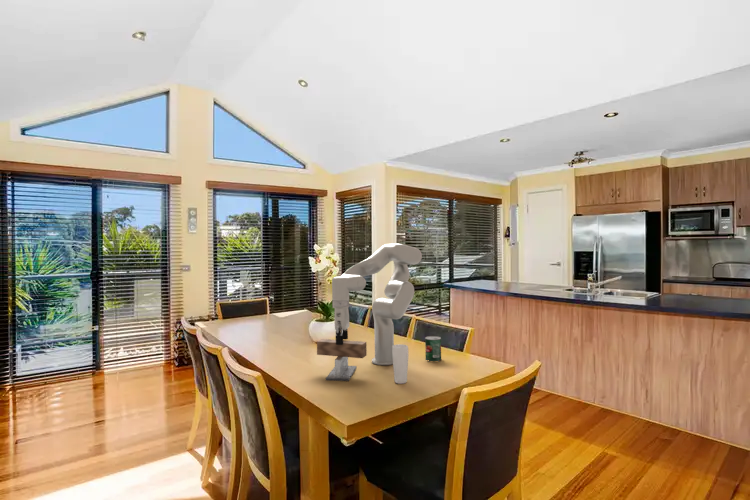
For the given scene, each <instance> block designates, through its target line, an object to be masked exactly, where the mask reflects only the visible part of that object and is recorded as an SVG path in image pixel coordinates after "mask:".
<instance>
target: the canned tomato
mask: <svg viewBox="0 0 750 500" xmlns="http://www.w3.org/2000/svg"><path fill="white" fill-rule="evenodd" d="M424 341H425V346H424V347H425V349H424V350H425V352H424V353H425V361H426V360H429V361H428V362H430V361H438V362H440V361H439V360H441V361H442V338H441V336H437V335H429V336H425V337H424Z"/></svg>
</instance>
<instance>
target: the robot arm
mask: <svg viewBox="0 0 750 500" xmlns="http://www.w3.org/2000/svg"><path fill="white" fill-rule="evenodd" d="M422 258H423V254H422V252H421V250H420V249H419V248H418V247H414V246H410V245H406V244H402V243H385V244H383V245H381V246H380V247H379V248H378V249H377V250H376V251H374V252H373V254H371V255H370V256H368V258H366V259H364V260H362V261H360V262H358V263H356V264H354V265H352V266H351V267H349V268H348V269H346V271H345V272H344V273H342V274H341V275H340V276H339V275H338V276H334V277H332V278H331V289H332V290H331V293H332V294H331V297H332V298H331V299H332V309H334V330H335V340H336V345H343V340H348V339H349V331H348V328H349V327H350V312H349V307H350V292H362V291H363V290H364V289H365V288H366V285H367V280H366V279H365V277H367V276H372V275H375V274H378V273H379V272H380V271H382V270H383V269H384V268H385V267H387V265H388V264H389V263H390V262H393V266H394V270H393V273H392V275H391V277H390V279H389V280H388V282H387V284H386V285H385V288H384V296H386V297H378V298H376V299H374V301H372V305H371V312H372V315H373V322H374V323H373V324H374V325H373V326H374V327H373V328H374V329H373V330H374V357H373V358H372V359H371V363H372V364H374V365H377V366H393V358H392V346H393V345H395V341H394V340H395V338H394V335H395V333H394V332H395V331H394V330H395V328H394V322H393V320H400V319H401V318H402V317H403V316H404V315H405V313H406V312H407V310H408V308H409V307H410V304H411V303H412V301H413V298H414V295H415V287H414V285H413V284H412V282H410V281H409V279H410V275H411V274H410V270H409V267H408V266H409V265H417V264H419V263H420V262H422V261H421V260H422Z"/></svg>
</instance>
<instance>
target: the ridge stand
mask: <svg viewBox="0 0 750 500" xmlns="http://www.w3.org/2000/svg"><path fill="white" fill-rule="evenodd" d="M356 370H357V365H349V357H340V356H336V358H335V359H334V367H333V368H332V369H331V371H330V372H329V374H327V376H326V377H325V381H330V382H331V381H333V382H334V381H335V382H339V381H340V382H349V381H350V380H351V378H352V376H353V375H354V373H355V372H356Z"/></svg>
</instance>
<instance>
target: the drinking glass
mask: <svg viewBox="0 0 750 500" xmlns="http://www.w3.org/2000/svg"><path fill="white" fill-rule="evenodd" d="M392 358H393V364H392V368H393V379H394V380H393V381H394V383H396V384H399V385H400V384H401V385H403V384H406V383H407V382H408V368H409V345H407V344H401V343H400V344H399V343H398V344H394V345H393V346H392Z"/></svg>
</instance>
